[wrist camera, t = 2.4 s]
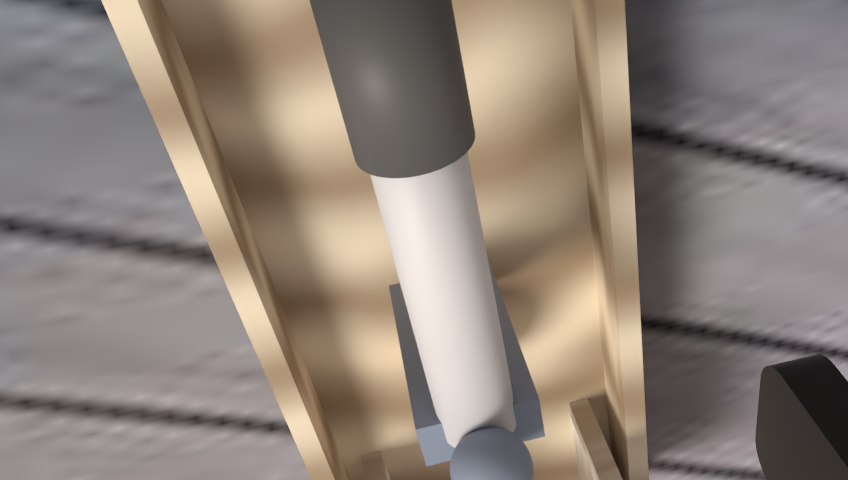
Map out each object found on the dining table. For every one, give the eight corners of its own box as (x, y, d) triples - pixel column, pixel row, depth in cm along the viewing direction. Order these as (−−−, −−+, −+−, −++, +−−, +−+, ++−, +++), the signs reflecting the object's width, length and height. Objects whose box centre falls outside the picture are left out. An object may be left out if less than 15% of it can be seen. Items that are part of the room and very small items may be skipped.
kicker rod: (277, -104, 25) (278, 17, 16) (414, -137, 25) (490, -36, 16) (400, 326, 36) (442, 545, 27) (496, 302, 36) (570, 512, 27)
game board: (96, -109, 27) (12, -10, 18) (568, -224, 27) (704, -180, 18) (360, 535, 48) (378, 721, 39) (622, 469, 48) (698, 640, 39)
